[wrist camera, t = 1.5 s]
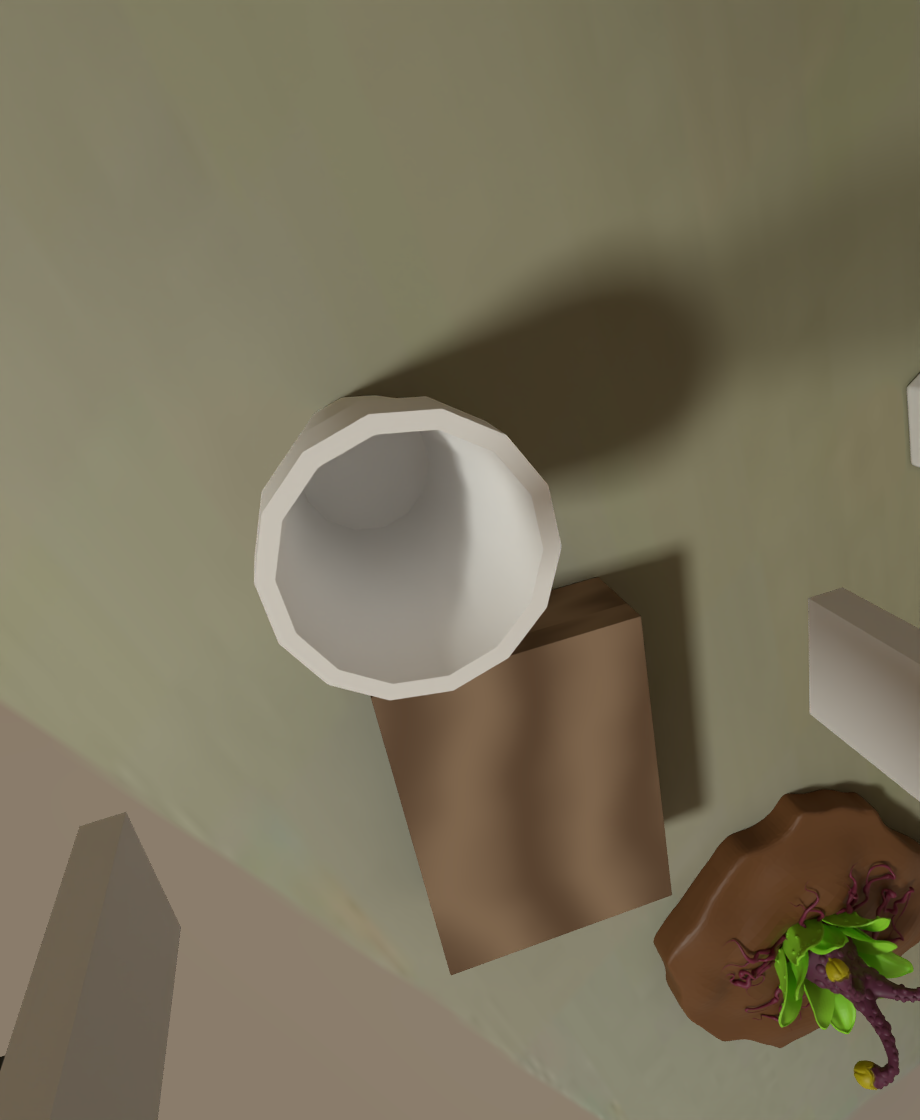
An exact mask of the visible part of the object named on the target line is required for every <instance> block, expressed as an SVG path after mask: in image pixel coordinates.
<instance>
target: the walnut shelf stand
mask: <svg viewBox="0 0 920 1120" xmlns="http://www.w3.org/2000/svg"><path fill="white" fill-rule="evenodd" d="M371 699H372V703H373V706H374V710H375V713H376V717H377V720H378V724H379V727H380V731H381V734H382V738H383V741H384V745H385V748H386V752H387V755H388V759H389V762H390V766H391V769H392V773H393V776H394V779H395V783H396V786H397V790H398V793H399V797H400V800H401V804H402V807H403V811H404V814H405V818H406V821H407V825H408V828H409V832H410V835H411V839H412V842H413V846H414V849H415V853H416V856H417V859H418V863H419V866H420V870H421V873H422V877H423V880H424V884H425V887H426V891H427V894H428V898H429V901H430V905H431V908H432V912H433V915H434V919H435V922H436V926H437V929H438V932H439V936H440V939H441V943H442V946H443V950H444V953H445V957H446V960H447V964H448V967H449V971H450V974H451V975H453V974H456V973H459V972H462V971H464V970H467V969H470V968H473V967H475V966H478V965H481V964H484V963H486V962H489V961H492V960H495V959H497V958H500V957H503V956H505V955H508V954H511V953H514V952H516V951H519V950H522V949H525V948H527V947H530V946H533V945H536V944H538V943H541V942H544V941H547V940H549V939H552V938H555V937H558V936H560V935H563V934H566V933H569V932H571V931H574V930H577V929H580V928H582V927H585V926H588V925H591V924H593V923H596V922H599V921H602V920H604V919H607V918H610V917H613V916H615V915H618V914H621V913H624V912H626V911H629V910H632V909H635V908H637V907H640V906H643V905H646V904H648V903H651V902H654V901H657V900H659V899H662V898H665V897H668V896H670V895H672V892H671V883H670V874H669V865H668V856H667V847H666V838H665V829H664V820H663V811H662V802H661V793H660V784H659V775H658V766H657V757H656V748H655V739H654V730H653V721H652V712H651V703H650V694H649V685H648V676H647V667H646V658H645V649H644V640H643V631H642V622H641V616H640V615H639V614H638V613H637V612H636V611H635V610H634V609H632V608H631V607H630V606H629V605H628V604H627V603H626V602H625V601H624V600H623V599H622V598H620V597H619V596H618V595H617V594H616V593H615V592H614V591H613V590H612V589H611V588H610V587H608V586H607V585H606V584H605V583H604V582H603V581H602V580H601V579H600V578H599V577H596V578H592V579H589V580H585V581H582V582H578V583H575V584H572V585H568V586H565V587H561V588H558V589H554V590H551V593H550V597H549V601H548V605H547V608H546V609H545V611H544V612H543V613H542V615H541V616H540V617H539V619H538V620H537V621H536V622H535V624H534V625H533V626H532V628H531V629H530V630H529V632H528V633H527V634H526V636H525V637H524V638H523V640H522V641H521V642H520V644H519V645H518V646H517V647H516V649H515V650H514V651H513V653H512V654H511V655H510V657H509V658H508V659H506V660H504V661H503V662H501V663H499V664H498V665H496V666H494V667H492V668H491V669H489V670H487V671H486V672H484V673H482V674H481V675H479V676H477V677H476V678H474V679H472V680H471V681H469V682H467V683H466V684H464V685H462V686H460V687H459V688H457V689H455V690H454V691H448V692H442V693H435V694H429V695H422V696H416V697H409V698H403V699H396V700H386V699H382V698H378V697H374V696H371Z"/></svg>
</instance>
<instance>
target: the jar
mask: <svg viewBox="0 0 920 1120" xmlns="http://www.w3.org/2000/svg"><path fill="white" fill-rule="evenodd" d="M907 404H908V421H909V438H910V455H911V463H912V465H914V466H916V467H920V373H919V374H918V375H917V376H916V378H915V379H914V380H913V381H912V382H911V383H910V384H909V385H908V387H907Z"/></svg>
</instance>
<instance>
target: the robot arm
mask: <svg viewBox="0 0 920 1120" xmlns="http://www.w3.org/2000/svg"><path fill="white" fill-rule="evenodd" d="M808 614H809V694H810V714H811V715H812V716H813V717H815V718H816V719H817V720H818V721H820V722H821V723H822V724H823V725H825V726H826V727H827V728H828V729H830V730H831V731H832V732H833V733H835V734H836V735H837V736H838V737H840V738H841V739H842V740H843V741H845V742H846V743H847V744H848V745H850V746H851V747H852V748H853V749H855V750H856V751H857V752H858V753H860V754H861V755H862V756H863V757H865V758H866V759H867V760H868V761H870V762H871V763H872V764H873V765H875V766H876V767H877V768H878V769H880V770H881V771H882V772H883V773H885V774H886V775H887V776H888V777H890V778H891V779H892V780H893V781H895V782H896V783H897V784H898V785H900V786H901V787H902V788H903V789H905V790H906V791H907V792H908V793H910V794H911V795H912V796H913V797H915V798H916V799H917V800H918V801H920V629H919V628H917V627H915V626H913V625H911V624H909V623H908V622H906V621H904V620H902V619H900V618H898V617H896V616H895V615H893V614H891V613H889V612H887V611H885V610H883V609H882V608H880V607H878V606H876V605H874V604H872V603H870V602H869V601H867V600H865V599H863V598H861V597H859V596H857V595H856V594H854V593H852V592H850V591H848V590H846V589H844V588H843V587H842V588H839V589H836V590H833V591H830V592H826V593H823V594H820V595H817V596H814V597H810V598H808ZM180 929H181V927H180V924H179V923H178V920H177V918H176V916H175V914H174V912H173V910H172V908H171V906H170V904H169V901H168V899H167V897H166V895H165V893H164V891H163V889H162V887H161V885H160V882H159V881H158V878H157V876H156V874H155V872H154V870H153V868H152V866H151V863H150V861H149V859H148V857H147V855H146V853H145V851H144V849H143V847H142V845H141V843H140V840H139V838H138V836H137V834H136V832H135V830H134V828H133V826H132V824H131V821H130V819H129V818H128V815H127V813H126V812H124V813H121V814H118V815H115V816H111V817H108V818H105V819H102V820H99V821H95V822H92V823H89V824H86V825H83V826H80V827H79V830H78V833H77V836H76V839H75V842H74V845H73V848H72V852H71V855H70V858H69V861H68V864H67V867H66V870H65V873H64V876H63V879H62V882H61V886H60V888H59V892H58V895H57V898H56V901H55V904H54V907H53V910H52V913H51V916H50V919H49V923H48V925H47V928H46V932H45V935H44V938H43V941H42V944H41V947H40V950H39V953H38V956H37V959H36V962H35V966H34V968H33V972H32V975H31V978H30V981H29V984H28V987H27V990H26V993H25V996H24V999H23V1002H22V1005H21V1008H20V1012H19V1015H18V1018H17V1021H16V1024H15V1027H14V1030H13V1033H12V1036H11V1039H10V1042H9V1045H8V1048H7V1052H6V1055H5V1056H2V1057H0V1120H158V1112H159V1104H160V1095H161V1086H162V1079H163V1070H164V1062H165V1054H166V1046H167V1037H168V1028H169V1021H170V1012H171V1004H172V995H173V987H174V979H175V971H176V962H177V954H178V946H179V938H180Z"/></svg>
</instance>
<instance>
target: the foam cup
mask: <svg viewBox="0 0 920 1120" xmlns="http://www.w3.org/2000/svg"><path fill="white" fill-rule="evenodd" d="M561 547H562V546H561V541H560V537H559V532H558V527H557V523H556V518H555V514H554V509H553V504H552V500H551V495H550V490H549V486H548V484H547V483H546V482H545V481H544V479H543V478H542V477H541V476H540V475H539V473H538V472H537V471H536V470H535V469H534V467H533V466H532V465H531V464H530V463H529V461H528V460H527V459H526V458H525V457H524V455H523V454H522V453H521V452H520V451H519V449H518V448H517V447H516V446H515V445H514V443H513V442H512V441H511V440H510V439H509V437H508V436H507V435H506V434H504V433H503V432H501V431H500V430H498V429H497V428H495V427H494V426H492V425H491V424H489V423H488V422H486V421H485V420H482V419H480V418H477V417H475V416H473V415H470V414H468V413H465V412H463V411H461V410H458V409H456V408H453V407H451V406H449V405H446V404H444V403H441V402H439V401H437V400H434V399H432V398H429V397H427V396H422V397H408V398H391V397H384V396H377V395H371V396H356V397H342V398H340V399H338V400H337V401H335V402H333V403H331V404H330V405H328V406H326V407H324V408H323V409H321V410H319V411H318V412H316V413H314V414H313V416H312V417H311V419H310V420H309V422H308V423H307V425H306V426H305V428H304V429H303V431H302V432H301V434H300V435H299V436H298V438H297V439H296V441H295V442H294V444H293V445H292V447H291V448H290V450H289V451H288V453H287V454H286V456H285V457H284V459H283V460H282V462H281V463H280V465H279V466H278V468H277V469H276V471H275V472H274V474H273V475H272V477H271V478H270V480H269V481H268V483H267V484H266V486H265V487H264V489H263V490H262V493H261V502H260V512H259V521H258V530H257V539H256V548H255V564H254V584H255V587H256V589H257V591H258V594H259V596H260V599H261V601H262V604H263V606H264V609H265V611H266V613H267V616H268V618H269V621H270V623H271V626H272V628H273V631H274V633H275V635H276V638H277V640H278V643H279V644H280V645H281V646H282V647H284V648H285V649H286V650H287V651H288V652H290V653H291V654H292V655H293V656H294V657H296V658H297V659H298V660H299V661H300V662H301V663H303V664H304V665H305V666H306V667H307V668H309V669H310V670H311V671H312V672H313V673H315V674H316V675H317V676H318V677H319V678H321V679H322V680H323V681H324V682H325V683H327V684H328V685H331V686H335V687H339V688H343V689H347V690H351V691H355V692H359V693H363V694H366V695H370V696H374V697H378V698H382V699H386V700H396V699H403V698H409V697H416V696H422V695H429V694H435V693H442V692H448V691H454V690H455V689H457V688H459V687H460V686H462V685H464V684H466V683H467V682H469V681H471V680H472V679H474V678H476V677H477V676H479V675H481V674H482V673H484V672H486V671H487V670H489V669H491V668H492V667H494V666H496V665H498V664H499V663H501V662H503V661H504V660H506V659H508V658H509V657H510V655H511V654H512V653H513V651H514V650H515V649H516V647H517V646H518V645H519V644H520V642H521V641H522V640H523V638H524V637H525V636H526V634H527V633H528V632H529V630H530V629H531V628H532V626H533V625H534V624H535V622H536V621H537V620H538V619H539V617H540V616H541V615H542V613H543V612H544V611H545V609H546V608H547V605H548V601H549V597H550V593H551V588H552V584H553V580H554V576H555V572H556V568H557V564H558V560H559V555H560V551H561Z"/></svg>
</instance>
